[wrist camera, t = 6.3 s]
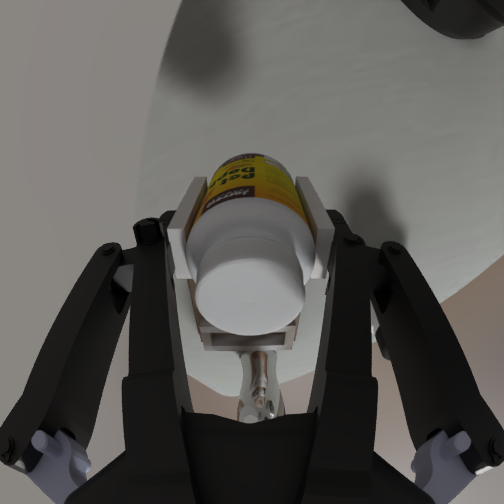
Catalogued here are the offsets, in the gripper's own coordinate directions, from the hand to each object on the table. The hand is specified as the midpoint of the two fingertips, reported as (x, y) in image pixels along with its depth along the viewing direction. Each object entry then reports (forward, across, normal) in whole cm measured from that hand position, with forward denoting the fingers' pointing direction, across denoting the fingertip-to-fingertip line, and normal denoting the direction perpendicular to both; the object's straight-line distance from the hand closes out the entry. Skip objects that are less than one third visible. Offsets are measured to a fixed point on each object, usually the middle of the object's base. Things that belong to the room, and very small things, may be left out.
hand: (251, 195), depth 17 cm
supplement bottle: (+1, 0, 0) cm, 1 cm away
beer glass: (+9, +1, -32) cm, 33 cm away
